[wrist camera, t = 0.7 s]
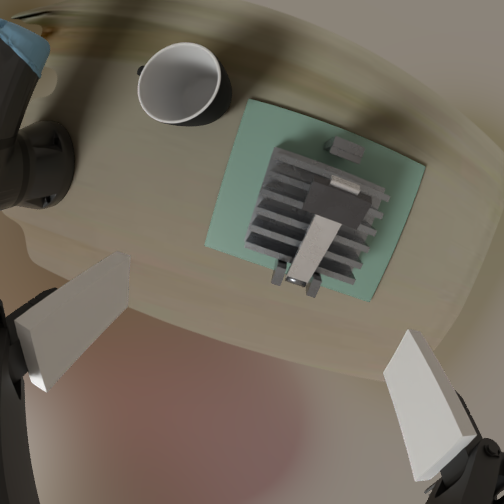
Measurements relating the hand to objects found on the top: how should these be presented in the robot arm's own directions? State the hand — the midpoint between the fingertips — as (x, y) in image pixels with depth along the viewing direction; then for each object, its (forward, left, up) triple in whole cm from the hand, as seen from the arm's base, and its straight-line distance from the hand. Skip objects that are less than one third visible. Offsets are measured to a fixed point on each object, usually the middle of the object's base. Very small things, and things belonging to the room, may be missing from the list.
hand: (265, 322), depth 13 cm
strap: (+3, +1, -16) cm, 17 cm away
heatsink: (+3, +1, -26) cm, 26 cm away
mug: (-16, +11, -26) cm, 33 cm away
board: (+3, +2, -26) cm, 27 cm away
